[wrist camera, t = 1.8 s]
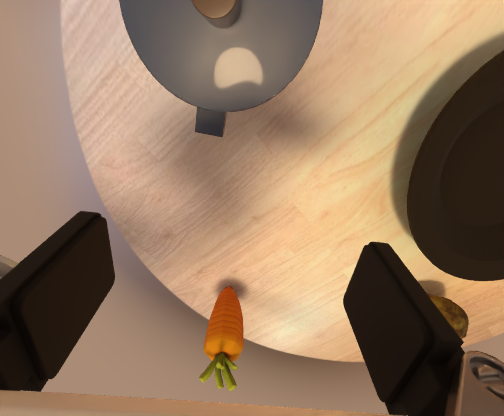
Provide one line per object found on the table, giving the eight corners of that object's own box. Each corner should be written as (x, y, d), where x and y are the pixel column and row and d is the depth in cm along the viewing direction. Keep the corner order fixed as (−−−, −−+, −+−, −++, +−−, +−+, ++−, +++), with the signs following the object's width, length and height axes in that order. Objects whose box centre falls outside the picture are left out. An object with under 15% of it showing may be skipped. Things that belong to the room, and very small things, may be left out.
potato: (357, 292, 43) (379, 337, 36) (442, 274, 41) (482, 317, 34) (362, 325, 46) (383, 372, 39) (440, 310, 45) (476, 356, 38)
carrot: (206, 288, 42) (187, 390, 29) (226, 270, 40) (215, 369, 27) (231, 303, 44) (223, 406, 30) (251, 286, 42) (252, 387, 29)
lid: (127, 91, 21) (89, 99, 16) (120, -165, 15) (56, -278, 10) (291, 124, 23) (302, 141, 18) (347, -99, 16) (390, -172, 11)
